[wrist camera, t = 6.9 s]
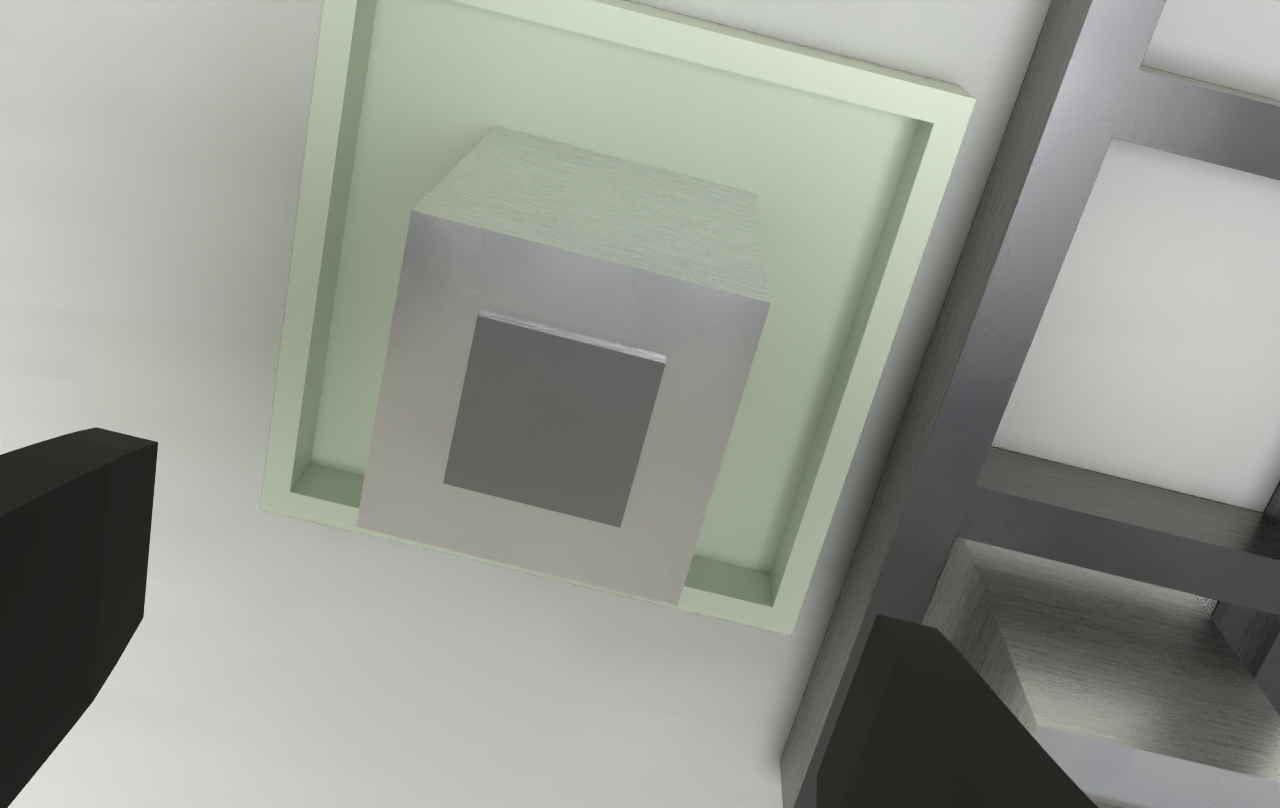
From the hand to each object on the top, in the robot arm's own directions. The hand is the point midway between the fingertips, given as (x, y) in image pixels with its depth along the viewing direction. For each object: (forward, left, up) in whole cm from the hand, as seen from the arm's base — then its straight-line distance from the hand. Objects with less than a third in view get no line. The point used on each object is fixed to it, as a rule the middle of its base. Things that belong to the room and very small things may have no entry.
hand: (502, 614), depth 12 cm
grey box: (0, 0, -10) cm, 10 cm away
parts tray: (0, 0, -10) cm, 10 cm away
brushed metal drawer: (-5, -10, -10) cm, 15 cm away
